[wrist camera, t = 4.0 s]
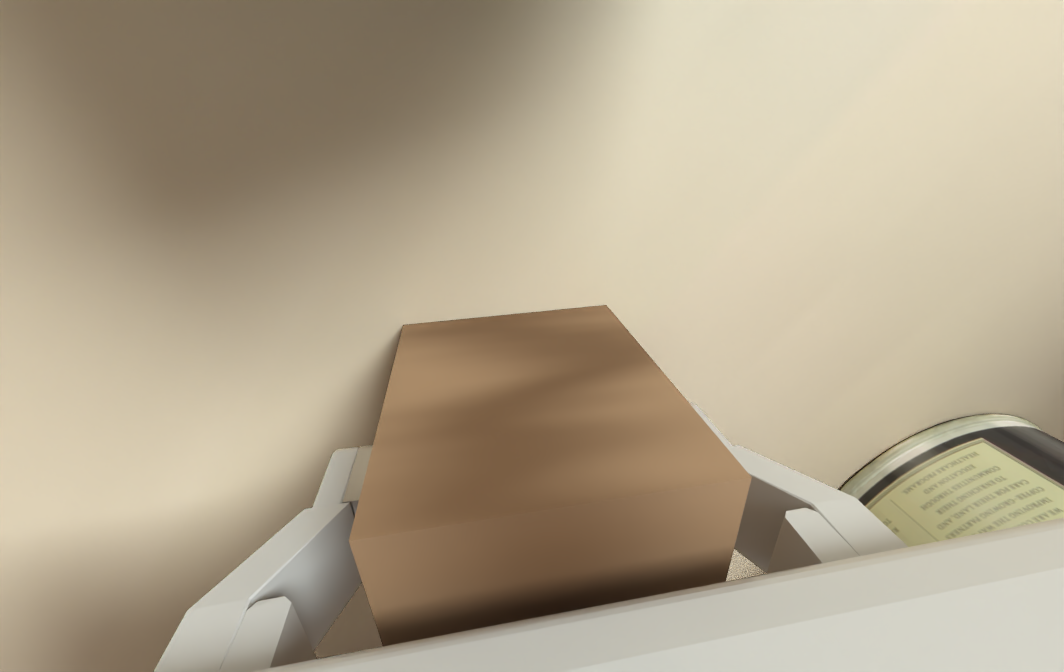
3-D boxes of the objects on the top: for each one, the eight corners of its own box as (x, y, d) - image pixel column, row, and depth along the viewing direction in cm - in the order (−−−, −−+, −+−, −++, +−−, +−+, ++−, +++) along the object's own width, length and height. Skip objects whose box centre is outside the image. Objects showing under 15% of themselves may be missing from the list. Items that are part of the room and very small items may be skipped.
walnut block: (606, 305, 11) (752, 477, 6) (599, 457, 13) (699, 685, 8) (403, 325, 10) (349, 541, 5) (432, 481, 12) (416, 747, 7)
